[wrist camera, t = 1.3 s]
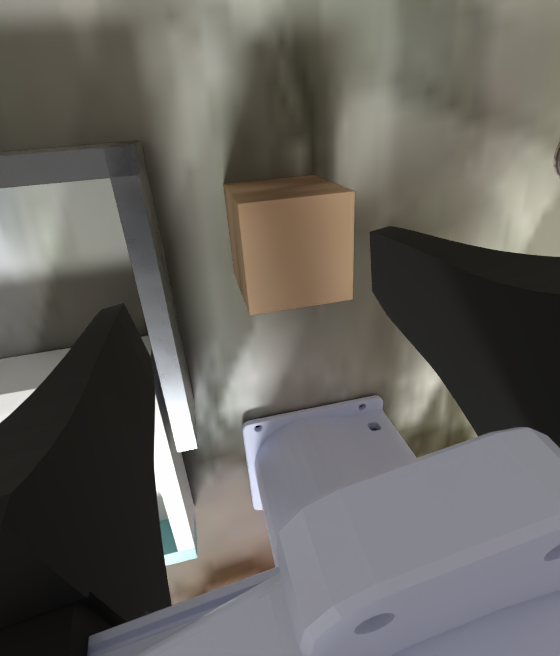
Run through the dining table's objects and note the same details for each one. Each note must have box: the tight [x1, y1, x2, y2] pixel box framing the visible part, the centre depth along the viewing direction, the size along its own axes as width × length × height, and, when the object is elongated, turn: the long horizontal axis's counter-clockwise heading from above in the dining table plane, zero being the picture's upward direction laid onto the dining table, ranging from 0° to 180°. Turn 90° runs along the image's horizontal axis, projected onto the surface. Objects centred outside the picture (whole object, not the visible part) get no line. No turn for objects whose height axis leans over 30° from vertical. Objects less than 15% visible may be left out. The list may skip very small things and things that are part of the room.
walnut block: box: [223, 175, 355, 315], centre depth 19 cm, size 4×4×6 cm
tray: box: [0, 336, 197, 566], centre depth 23 cm, size 14×14×4 cm
